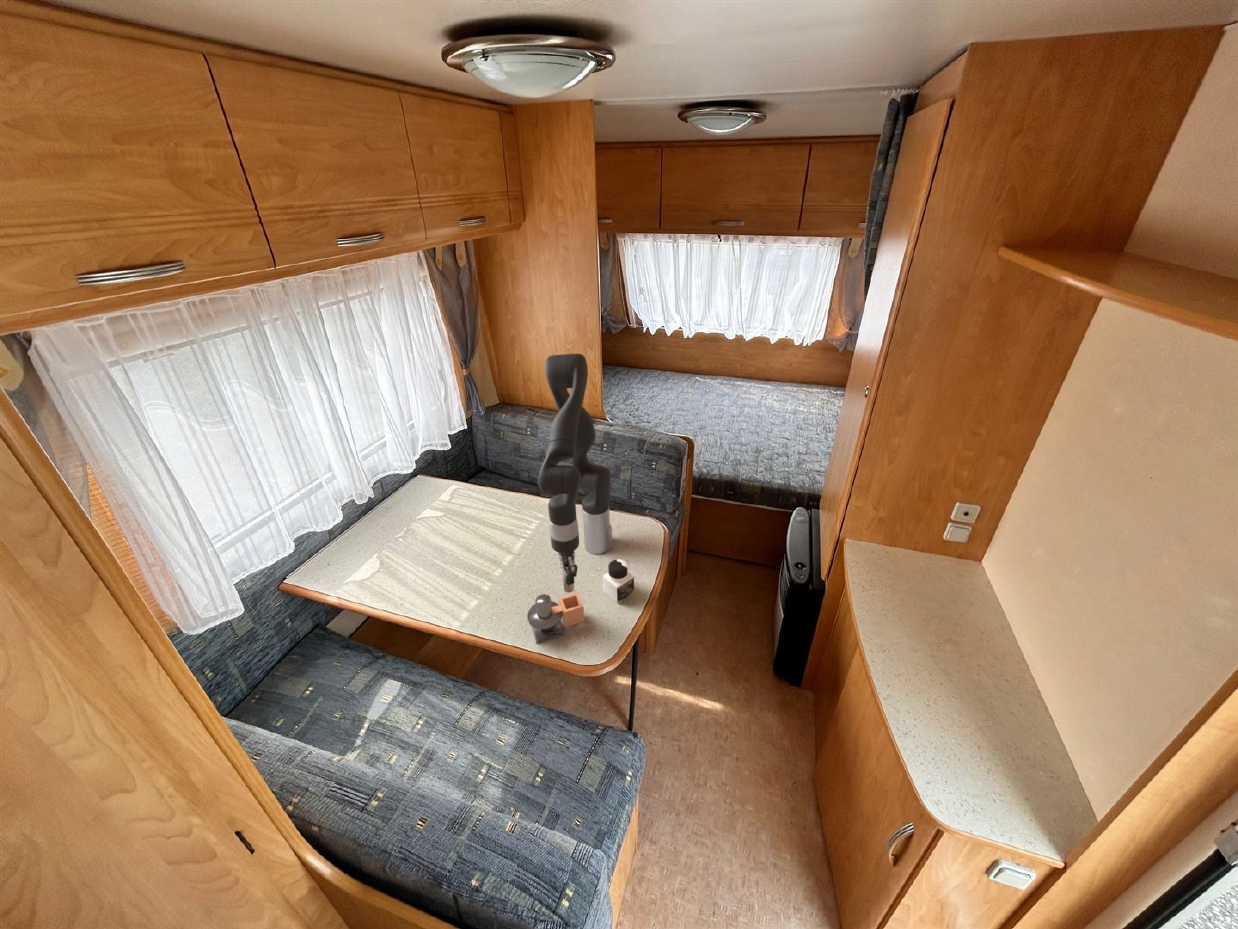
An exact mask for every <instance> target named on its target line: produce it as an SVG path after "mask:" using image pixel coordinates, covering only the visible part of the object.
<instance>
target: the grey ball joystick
mask: <svg viewBox="0 0 1238 929" xmlns="http://www.w3.org/2000/svg"><path fill="white" fill-rule="evenodd" d="M558 605H559V604H558V602H555V601H552V598H551V596H550V595H548V594H540V595H538V596H536V598H535V600H534V604H533V605H532V606H531V607H530V608H529V610H528V611H527V622H528V624H529V625H530V626H531V628H532V632H533V636H534V640H535V642H536V644H539V643H542V642H545V641H549V640H552V639H556V638H559V637H562V636H564V631H563V628H562V626H561V623H560V622H561V620H563V618H562V612H560V613H557V614H553V615H552V607H554V606H558Z"/></svg>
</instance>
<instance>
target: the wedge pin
mask: <svg viewBox="0 0 1238 929" xmlns="http://www.w3.org/2000/svg"><path fill="white" fill-rule="evenodd" d="M568 565H569V564H568ZM560 566H561V572H562V582H563V584H562V585H563V590H564V592H565V593H568V594H569V593H572V592H574V591H575V583H574V584H571V585H567V583H566V575H565V570H564V569H563V567H562V561H560Z"/></svg>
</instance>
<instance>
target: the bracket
mask: <svg viewBox="0 0 1238 929" xmlns="http://www.w3.org/2000/svg"><path fill="white" fill-rule="evenodd" d="M558 602H559V604H558V606H554V607H552V615H553V614H557V613H560V612H562V621H563V624H564V626H565V627H568V626H569V627H570V626H573V625H575V624H579V623H582V622H585V611H584V610H585V609H584V605H583V602H582V599H581V598H580V595H579V593H578V592H577V593H573V594H569V595H565V596H562V597H559V598H558Z"/></svg>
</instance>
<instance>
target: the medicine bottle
mask: <svg viewBox="0 0 1238 929" xmlns="http://www.w3.org/2000/svg"><path fill="white" fill-rule="evenodd" d="M607 566H608V568H607V569H608V572H606V573H605V574H602V585H603V590H602V591H603V593H604V594H606V596H608V597H609V598H610V599H611V600H613V601H614V602H615V603H616V604H620V603H621V602H623V601H624V600H626V599H627V598H629V597H630V596H632V595H633V594H634V593H635V576H634V575H632V574H631V573H630V572H629V565H628V562H626V561H625V560H624V559H618V558H616V559H613V560H612V561H610V562H609V563H608V565H607Z"/></svg>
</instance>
